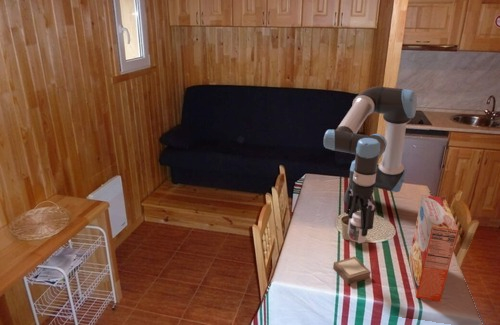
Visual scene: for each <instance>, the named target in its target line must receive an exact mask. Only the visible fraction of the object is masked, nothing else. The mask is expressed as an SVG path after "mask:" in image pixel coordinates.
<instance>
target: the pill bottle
mask: <svg viewBox="0 0 500 325" xmlns="http://www.w3.org/2000/svg"><path fill="white" fill-rule="evenodd" d="M360 227H362V226H361V211H357V212H355V213H353V216H352V219H351V221H350V228H349V238H350V239H351V240H350V241H352V240H353V242H356V243H358V237H359V230H360Z"/></svg>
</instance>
